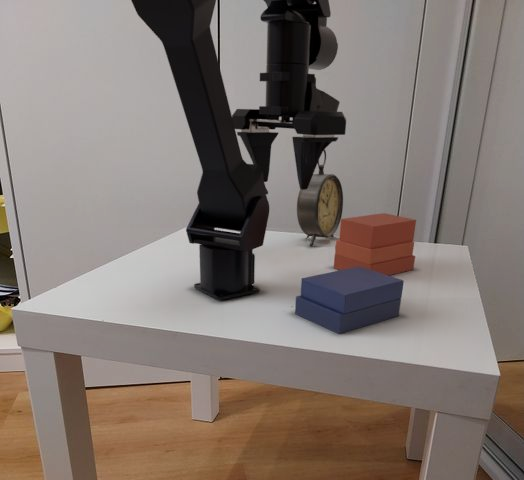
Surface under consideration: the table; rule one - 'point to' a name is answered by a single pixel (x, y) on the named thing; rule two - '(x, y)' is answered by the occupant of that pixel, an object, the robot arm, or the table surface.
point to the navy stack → (349, 298)
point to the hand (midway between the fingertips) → (283, 185)
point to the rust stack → (375, 257)
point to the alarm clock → (320, 205)
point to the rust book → (377, 230)
